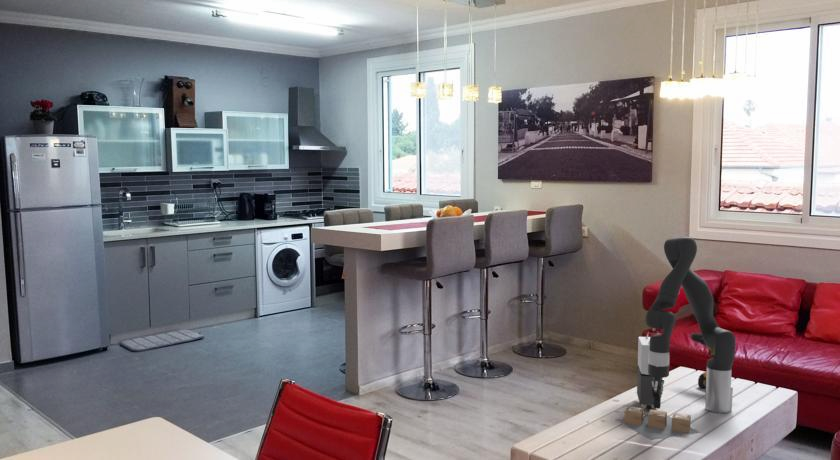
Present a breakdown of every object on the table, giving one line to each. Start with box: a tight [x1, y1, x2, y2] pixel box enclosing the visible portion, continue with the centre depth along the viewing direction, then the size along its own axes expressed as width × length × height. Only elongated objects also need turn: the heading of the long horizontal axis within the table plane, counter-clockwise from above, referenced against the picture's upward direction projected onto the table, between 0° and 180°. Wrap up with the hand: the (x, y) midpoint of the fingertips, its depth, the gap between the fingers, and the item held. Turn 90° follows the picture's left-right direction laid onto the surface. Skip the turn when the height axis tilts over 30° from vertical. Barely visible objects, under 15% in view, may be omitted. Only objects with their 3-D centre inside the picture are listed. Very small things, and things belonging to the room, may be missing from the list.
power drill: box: [689, 332, 715, 390], centre depth 324 cm, size 8×21×25 cm, turn 32°
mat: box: [615, 414, 702, 441], centre depth 275 cm, size 22×22×1 cm
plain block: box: [647, 409, 668, 430], centre depth 274 cm, size 6×6×5 cm
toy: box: [636, 331, 656, 410], centre depth 298 cm, size 15×7×30 cm, turn 168°
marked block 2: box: [671, 412, 692, 433], centre depth 271 cm, size 6×6×5 cm
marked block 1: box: [624, 405, 645, 426], centre depth 278 cm, size 6×6×5 cm
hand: (657, 407), depth 274 cm, fingers closed
